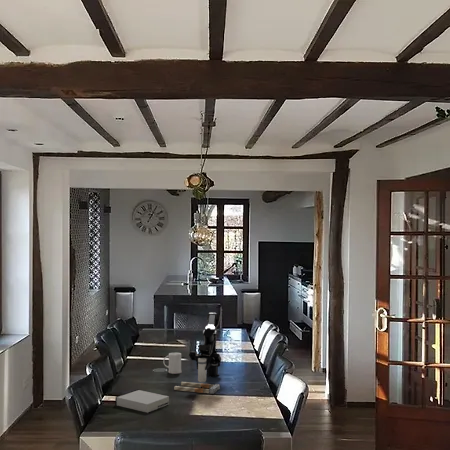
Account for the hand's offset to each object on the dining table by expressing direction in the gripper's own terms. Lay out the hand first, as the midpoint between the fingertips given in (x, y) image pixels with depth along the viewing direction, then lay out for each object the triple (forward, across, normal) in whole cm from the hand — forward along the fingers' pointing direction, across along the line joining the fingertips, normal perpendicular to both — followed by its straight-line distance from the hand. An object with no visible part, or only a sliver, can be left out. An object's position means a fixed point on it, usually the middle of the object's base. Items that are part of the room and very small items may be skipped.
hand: (201, 369), depth 342 cm
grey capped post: (+4, 0, +6) cm, 7 cm away
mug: (-15, -33, +33) cm, 49 cm away
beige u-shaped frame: (+8, -3, +9) cm, 13 cm away
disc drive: (+34, -20, -16) cm, 43 cm away
